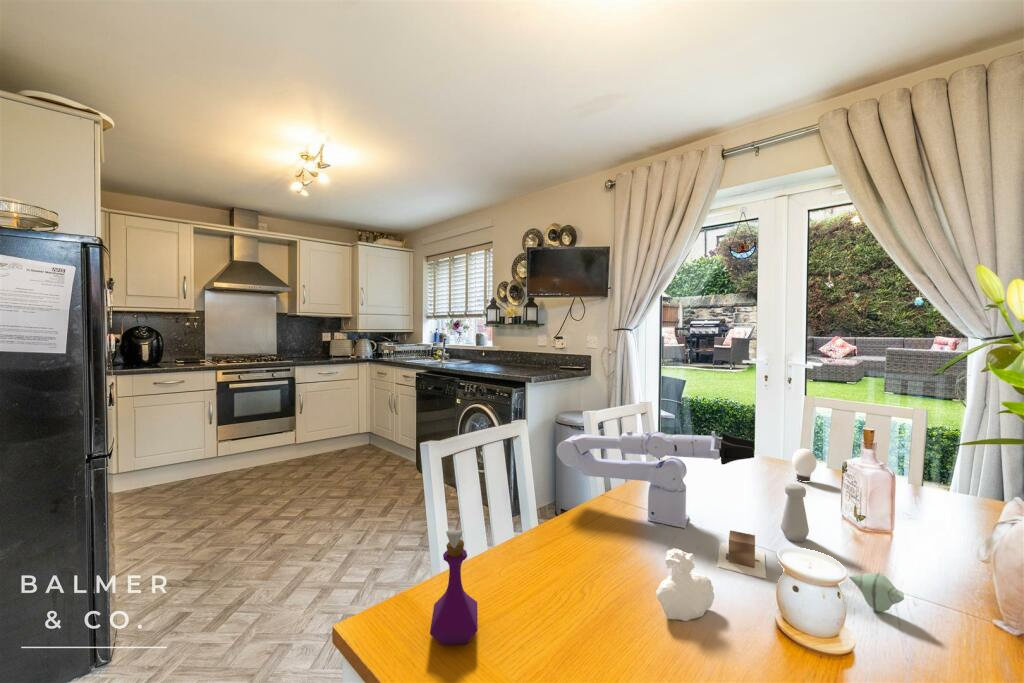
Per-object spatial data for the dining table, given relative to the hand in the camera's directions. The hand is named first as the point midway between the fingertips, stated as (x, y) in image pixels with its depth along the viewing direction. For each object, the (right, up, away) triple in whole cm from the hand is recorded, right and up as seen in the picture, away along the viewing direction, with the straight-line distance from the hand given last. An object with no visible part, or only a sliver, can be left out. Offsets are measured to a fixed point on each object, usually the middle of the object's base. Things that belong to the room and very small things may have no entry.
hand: (754, 449), depth 106 cm
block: (-9, -22, -11) cm, 26 cm away
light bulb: (+39, -21, +40) cm, 59 cm away
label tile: (-9, -22, -11) cm, 26 cm away
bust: (-28, -23, -27) cm, 45 cm away
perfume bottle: (-69, -23, -34) cm, 80 cm away
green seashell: (+7, -23, -27) cm, 36 cm away
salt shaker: (+10, -22, 0) cm, 24 cm away
